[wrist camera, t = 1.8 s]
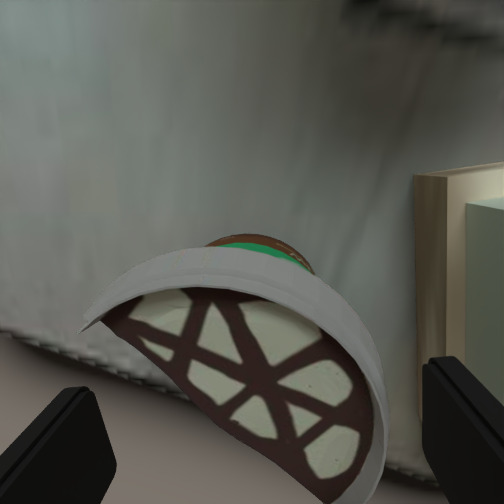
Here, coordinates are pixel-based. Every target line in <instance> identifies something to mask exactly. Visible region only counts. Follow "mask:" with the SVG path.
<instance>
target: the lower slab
mask: <svg viewBox="0 0 504 504" xmlns="http://www.w3.org/2000/svg"><path fill="white" fill-rule="evenodd" d="M501 197H504V161H503V162H496V163H489V164H483V165H476V166H469V167H463V168H456V169H449V170H442V171H436V172H429V173H422V174H416V175H414V210H415V266H416V321H417V376H418V416H419V418H420V419H421V421H422V366H423V364H428V360H429V358H431V357H443V356H455V357H456V358H457V359H458V360H459V361H460V362H461V363H462V364H463V365H464V366H465V355H466V203H468V202H474V201H481V200H487V199H494V198H501Z"/></svg>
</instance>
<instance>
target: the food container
mask: <svg viewBox="0 0 504 504" xmlns="http://www.w3.org/2000/svg"><path fill="white" fill-rule="evenodd" d="M83 318H84V319H86V320H87V321H88V322H87V323H86V324H85V325H84V326H83V327H82V328H81V329H79V330H78V331H77V332H76V333H78V334H79V333H81V332H83V331H84V330H86V329H87V328H89V327H90V326H92V325H94V324H95V323H97V322H98V321H101V322H102V323H104V324H105V325H106V326H107V327H108V328H110V329H111V330H112V331H113V332H114V333H115V334H116V336H118V337H120V338H122V339H123V340H125V341H127V342H128V343H129V344H131V345H132V346H133V347H135V348H136V349H138V350H139V351H140V352H141V353H142V354H143V355H145V356H146V357H147V358H148V359H149V360H151V361H152V362H153V363H154V364H155V365H156V366H158V367H159V368H160V369H161V370H162V371H163V372H164V373H165V374H167V375H168V376H169V377H170V378H171V379H172V380H173V382H174V383H175V384H176V385H177V386H178V387H179V388H180V389H181V390H182V391H183V392H184V393H185V394H186V395H187V396H188V397H189V398H190V399H191V400H192V401H193V402H194V403H195V404H196V405H197V407H199V408H200V409H201V410H202V411H203V412H204V413H205V414H206V415H207V416H208V417H209V418H210V419H211V420H212V421H213V422H214V423H215V424H216V425H218V426H219V427H220V428H221V429H223V430H224V431H226V432H227V433H229V434H230V435H232V436H233V437H235V438H236V439H238V440H239V441H241V442H243V443H244V444H246V445H248V446H250V447H251V448H253V449H254V450H256V451H258V452H259V453H261V454H262V455H264V456H265V457H267V458H268V459H270V460H271V461H273V462H274V463H276V464H277V465H278V466H279V467H281V468H282V469H283V470H284V471H286V472H287V473H288V474H289V475H291V476H292V477H293V478H294V479H296V480H297V481H298V482H299V483H300V484H302V485H303V486H304V487H305V488H306V489H308V490H309V491H310V492H311V493H312V494H313V495H315V496H316V497H317V498H318V499H319V500H321V501H322V502H323V504H366V503H367V502H368V500H369V499H370V498H371V496H372V495H373V493H374V491H375V489H376V487H377V484H378V482H379V480H380V478H381V475H382V473H383V468H384V463H385V459H386V454H387V443H388V438H389V406H388V399H387V393H386V387H385V380H384V375H383V370H382V365H381V360H380V357H379V354H378V352H377V349H376V347H375V344H374V342H373V339H372V337H371V335H370V333H369V332H368V330H367V328H366V327H365V325H364V324H363V322H362V321H361V319H360V317H359V316H358V314H357V313H356V312H355V311H354V310H353V309H352V308H351V307H350V306H349V304H348V303H347V302H346V301H345V300H344V299H343V298H342V297H341V296H340V295H339V294H338V293H337V292H336V291H334V290H333V289H332V288H331V287H329V286H328V285H327V284H326V283H324V282H323V281H322V280H321V279H319V278H318V277H316V275H315V273H314V272H313V270H312V268H311V266H310V265H309V263H308V262H307V261H306V260H305V258H304V257H303V256H302V255H301V254H300V253H298V252H297V251H296V250H295V249H294V248H292V247H291V246H289V245H287V244H285V243H284V242H282V241H280V240H277V239H274V238H272V237H268V236H263V235H258V234H238V235H231V236H228V237H224V238H220V239H218V240H216V241H214V242H212V243H210V244H208V245H206V246H204V247H201V248H190V249H182V250H179V251H175V252H171V253H167V254H163V255H159V256H157V257H154V258H152V259H150V260H148V261H145V262H143V263H141V264H139V265H137V266H134V267H133V268H132V269H130V270H129V271H127V272H126V273H124V274H123V275H121V276H120V277H118V278H117V279H115V280H114V281H113V282H112V283H111V284H110V285H109V286H108V287H107V288H106V289H105V290H104V291H103V292H102V293H101V294H100V295H99V296H98V298H97V299H96V300H95V301H94V303H93V304H92V305H91V307H90V308H89V309H88V311H87V312H86V313H85V314H84V316H83Z"/></svg>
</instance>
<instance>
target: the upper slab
mask: <svg viewBox="0 0 504 504" xmlns="http://www.w3.org/2000/svg"><path fill="white" fill-rule="evenodd" d="M465 367H466V368H467V369H468V370H469V371H470V372H471V373H472V374H473V375H474V376H475V377H476V378H477V379H478V380H479V381H480V382H481V383H482V384H483V385H484V386H485V387H486V388H487V389H488V390H489V391H490V392H491V394H492V395H493V396H494V397H495V398H496V399H497V400H498V401H499V402H500V403H501V404H502V405H503V406H504V197H501V198H494V199H487V200H481V201H474V202H468V203H466V355H465Z"/></svg>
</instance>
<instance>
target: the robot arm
mask: <svg viewBox="0 0 504 504" xmlns="http://www.w3.org/2000/svg"><path fill="white" fill-rule="evenodd" d="M422 446H423V451H424V454H425V457H426V459H427V462H428V463H429V465H430V467H431V469H432V471H433V473H434V475H435V477H436V479H437V480H438V482H439V484H440V486H441V488H442V490H443V492H444V494H445V495H446V497H447V499H448V501H449V503H450V504H504V406H503V405H502V404H501V403H500V402H499V401H498V400H497V399H496V398H495V397H494V396H493V395H492V394H491V392H490V391H489V390H488V389H487V388H486V387H485V386H484V385H483V384H482V383H481V382H480V381H479V380H478V379H477V378H476V377H475V376H474V375H473V374H472V373H471V372H470V371H469V370H468V369H467V368H466V367H465V366H464V365H463V364H462V363H461V362H460V361H459V360H458V359H457V358H456V357H455V356H443V357H431V358H429V360H428V364H423V366H422ZM116 467H117V463H116V459H115V456H114V453H113V450H112V446H111V443H110V440H109V437H108V434H107V431H106V428H105V425H104V422H103V419H102V415H101V412H100V409H99V406H98V403H97V400H96V397H95V394H94V393H93V392H92V391H90V390H89V388H88V387H85V386H82V387H70V388H65V389H63V390H62V391H61V392H60V393H59V394H58V395H57V396H56V397H55V398H54V399H53V400H52V401H51V403H50V404H49V405H48V406H47V407H46V408H45V409H44V410H43V411H42V412H41V413H40V414H39V415H38V416H37V417H36V419H34V421H33V422H32V423H31V424H30V425H29V426H28V427H27V428H26V429H25V430H24V431H23V432H22V433H21V435H19V436H18V438H17V439H16V440H15V441H14V442H13V443H12V444H11V445H10V446H9V447H8V448H7V449H6V450H5V451H4V452H3V453H2V454H1V455H0V504H100V503H101V501H102V499H103V497H104V495H105V493H106V492H107V490H108V488H109V486H110V484H111V482H112V480H113V478H114V475H115V473H116Z"/></svg>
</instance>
